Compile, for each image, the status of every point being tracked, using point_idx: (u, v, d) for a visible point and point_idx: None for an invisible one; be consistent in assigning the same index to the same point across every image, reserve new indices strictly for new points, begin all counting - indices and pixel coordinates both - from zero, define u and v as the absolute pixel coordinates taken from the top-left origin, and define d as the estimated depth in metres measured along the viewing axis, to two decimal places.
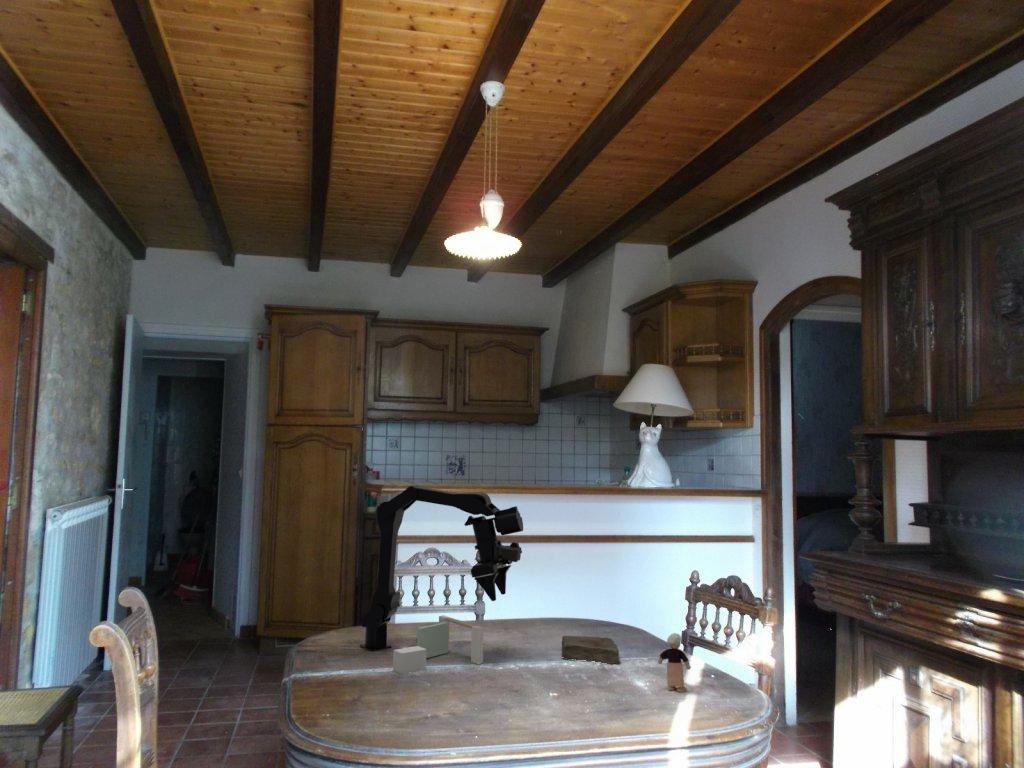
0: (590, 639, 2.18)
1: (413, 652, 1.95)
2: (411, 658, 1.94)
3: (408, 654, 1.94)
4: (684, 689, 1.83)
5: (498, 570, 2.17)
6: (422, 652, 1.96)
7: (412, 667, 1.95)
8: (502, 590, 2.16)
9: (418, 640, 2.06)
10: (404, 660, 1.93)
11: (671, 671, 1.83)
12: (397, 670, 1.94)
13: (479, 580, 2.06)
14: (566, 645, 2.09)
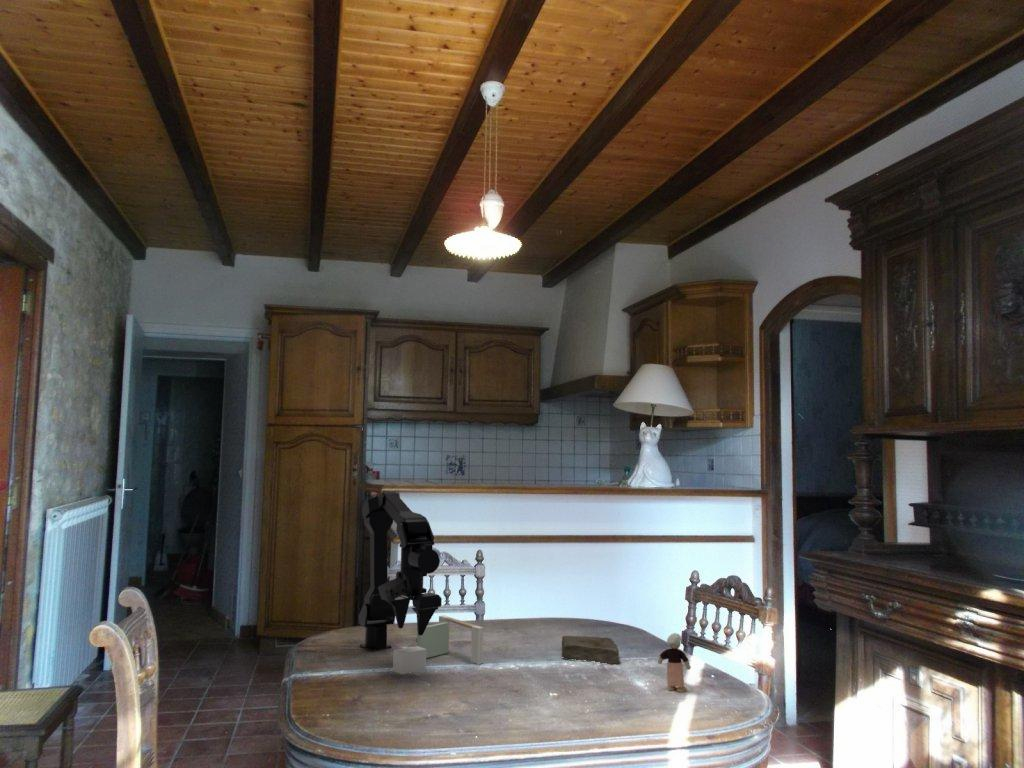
0: (590, 639, 2.18)
1: (413, 652, 1.95)
2: (411, 658, 1.94)
3: (408, 654, 1.94)
4: (684, 689, 1.83)
5: None
6: (422, 652, 1.97)
7: (412, 667, 1.95)
8: None
9: (418, 640, 2.06)
10: (404, 660, 1.93)
11: (671, 671, 1.83)
12: (397, 670, 1.94)
13: None
14: (566, 645, 2.09)
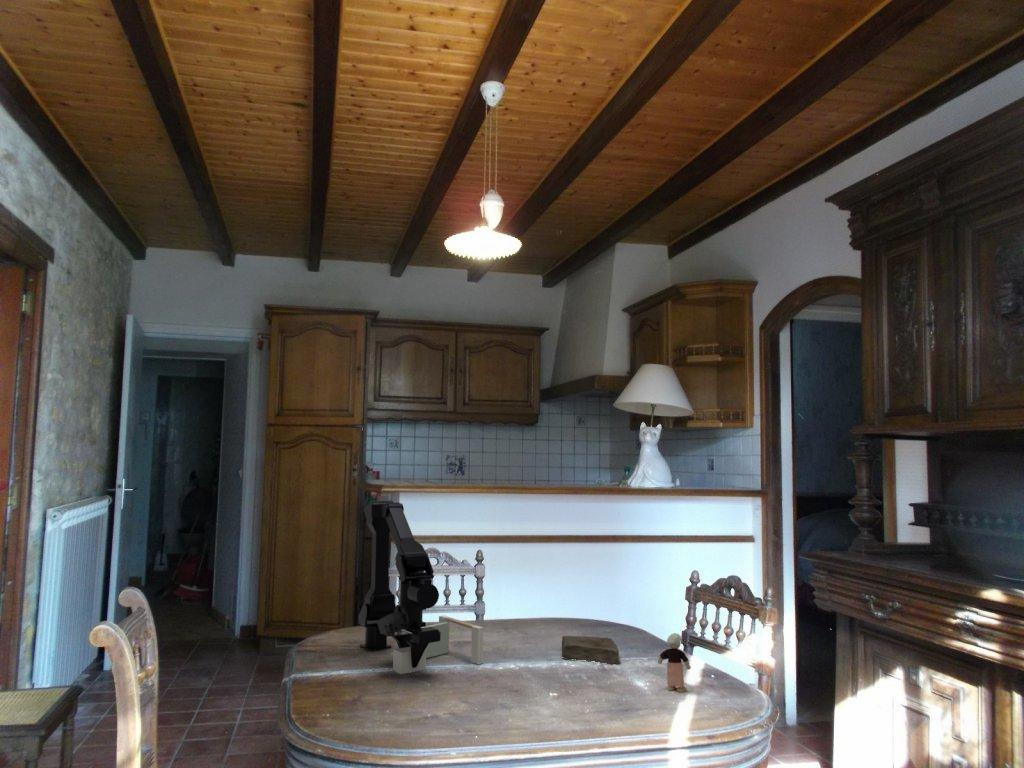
0: (590, 639, 2.18)
1: None
2: None
3: (408, 653, 1.94)
4: (684, 689, 1.83)
5: None
6: None
7: None
8: None
9: None
10: (404, 659, 1.93)
11: (671, 671, 1.83)
12: (397, 670, 1.94)
13: None
14: (566, 645, 2.09)
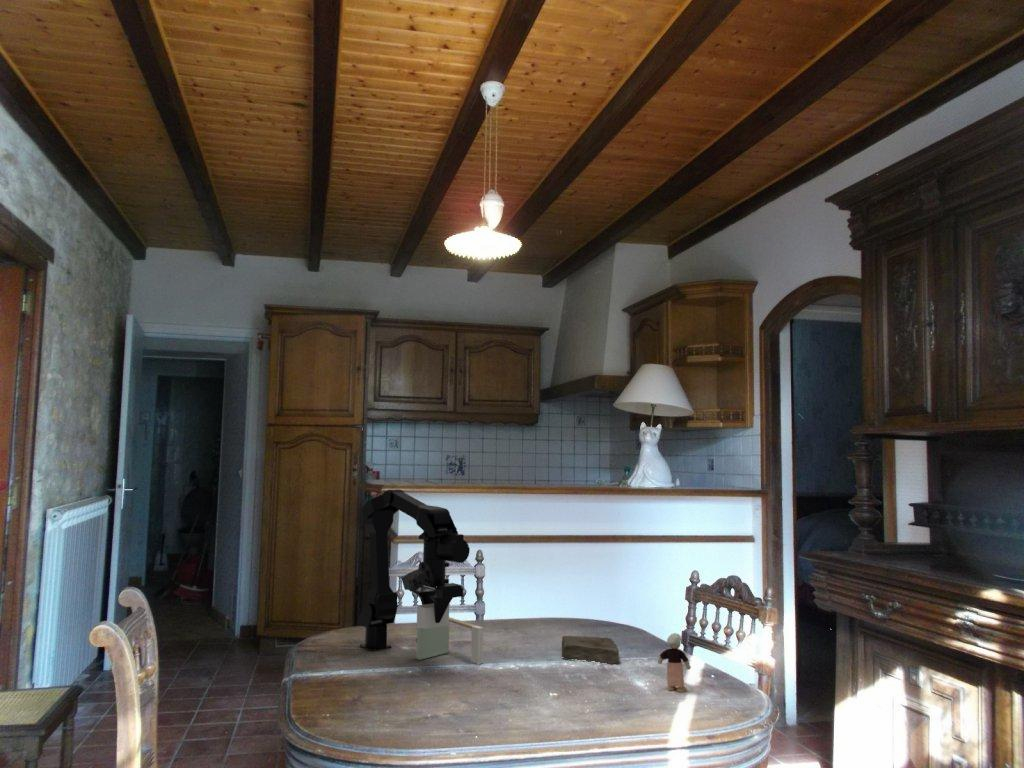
0: (590, 639, 2.18)
1: None
2: (434, 613, 1.99)
3: (432, 609, 1.98)
4: (684, 689, 1.83)
5: None
6: None
7: None
8: None
9: (418, 640, 2.06)
10: (428, 614, 1.98)
11: (671, 671, 1.83)
12: (421, 625, 1.98)
13: None
14: (566, 645, 2.09)
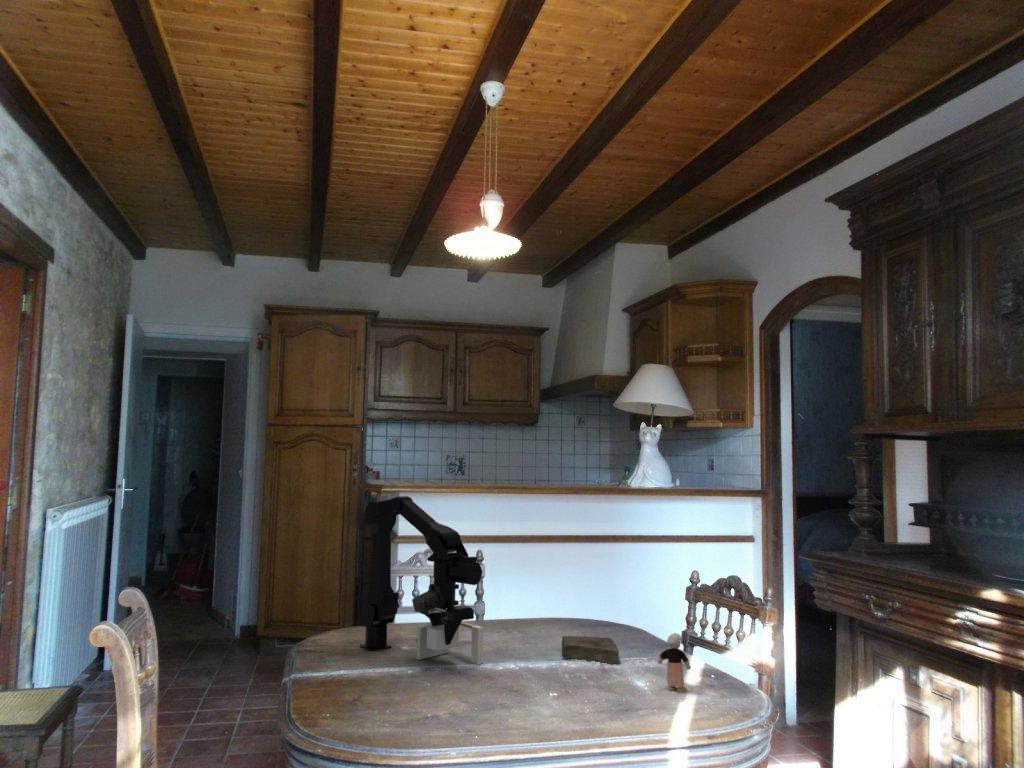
0: (590, 639, 2.18)
1: None
2: None
3: (442, 631, 2.00)
4: (684, 689, 1.83)
5: None
6: None
7: None
8: None
9: (418, 640, 2.06)
10: (438, 636, 1.99)
11: (671, 671, 1.83)
12: (431, 646, 2.00)
13: None
14: (566, 645, 2.09)
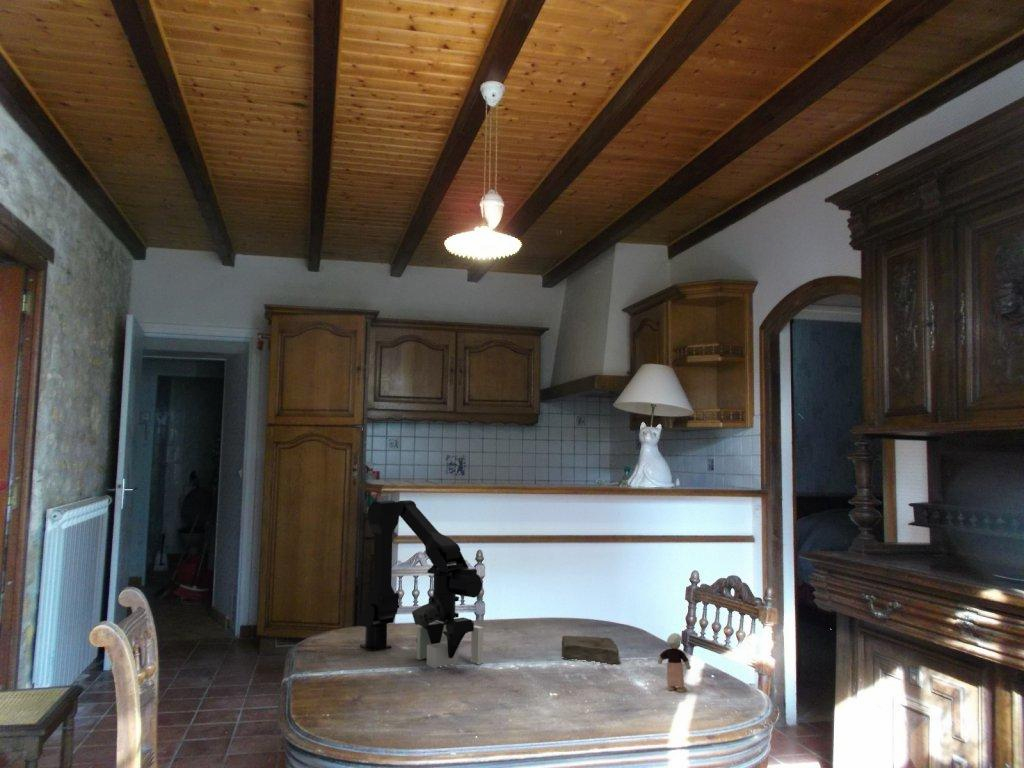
0: (590, 639, 2.18)
1: (446, 647, 2.00)
2: (444, 652, 2.00)
3: (442, 649, 2.00)
4: (684, 689, 1.83)
5: None
6: None
7: (446, 661, 2.00)
8: None
9: (418, 640, 2.06)
10: (438, 654, 1.99)
11: (671, 671, 1.83)
12: (431, 664, 2.00)
13: None
14: (566, 645, 2.09)
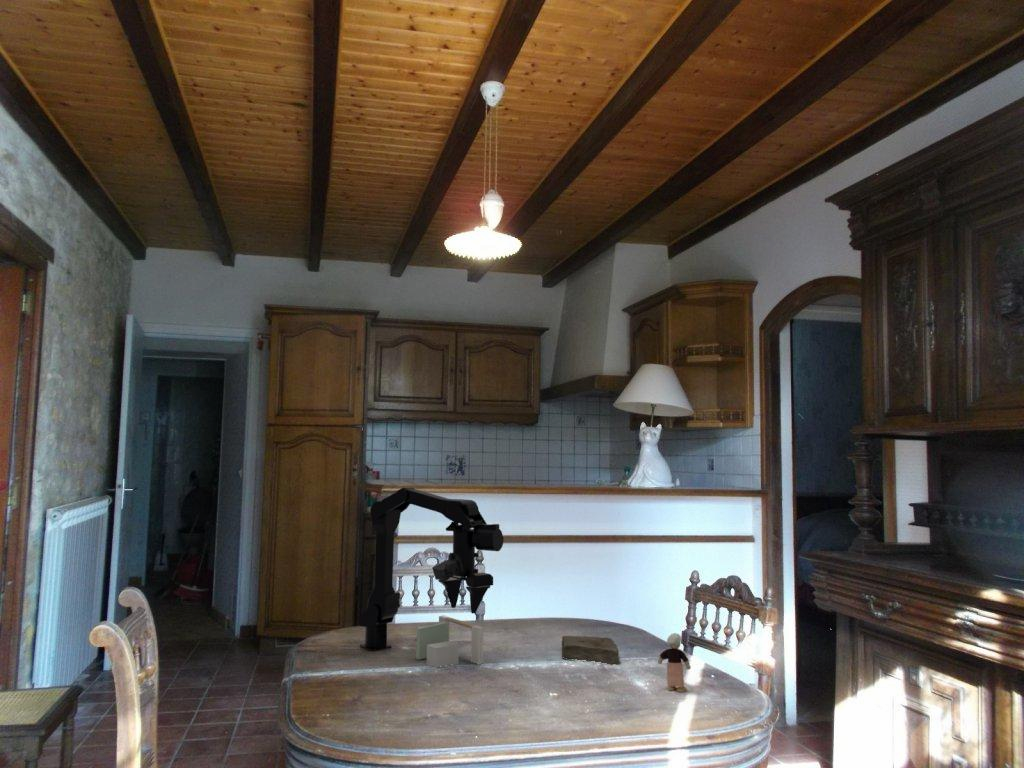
0: (590, 639, 2.18)
1: (446, 647, 2.00)
2: (444, 652, 2.00)
3: (442, 649, 2.00)
4: (684, 689, 1.83)
5: None
6: (455, 647, 2.02)
7: (446, 661, 2.00)
8: None
9: (417, 640, 2.06)
10: (438, 654, 1.99)
11: (671, 671, 1.83)
12: (431, 664, 2.00)
13: None
14: (566, 645, 2.09)
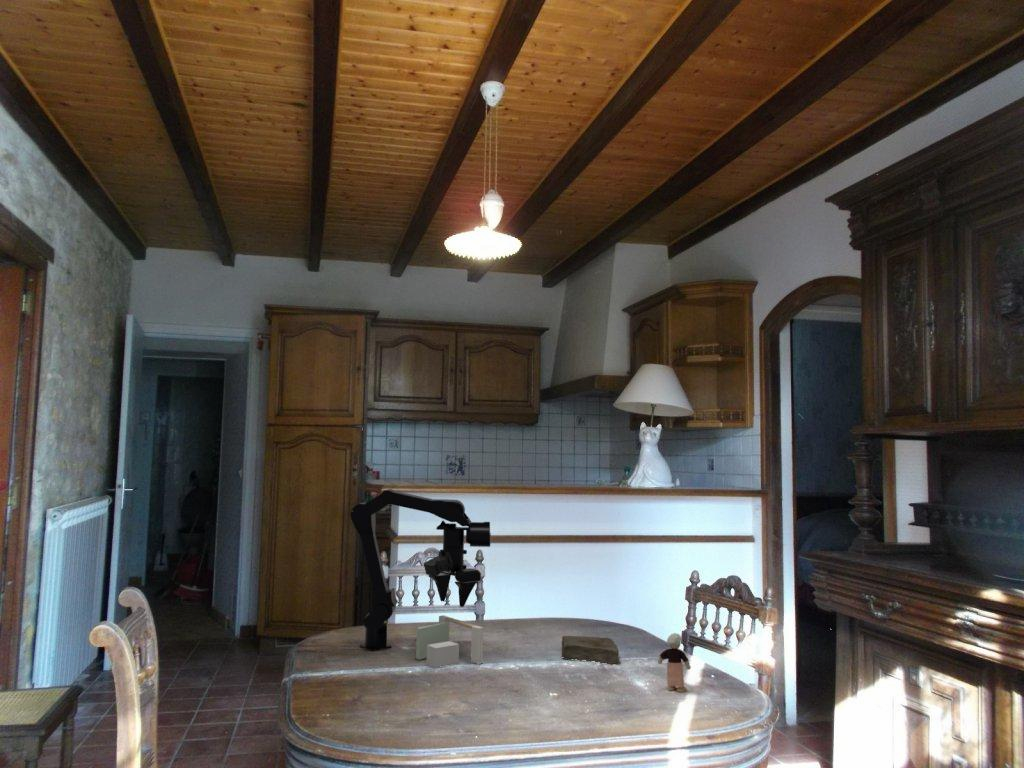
0: (590, 639, 2.18)
1: (446, 647, 2.00)
2: (444, 652, 2.00)
3: (442, 649, 2.00)
4: (684, 689, 1.83)
5: None
6: (455, 647, 2.02)
7: (446, 661, 2.00)
8: None
9: (417, 640, 2.06)
10: (438, 654, 1.99)
11: (671, 671, 1.83)
12: (431, 664, 2.00)
13: None
14: (566, 645, 2.09)
